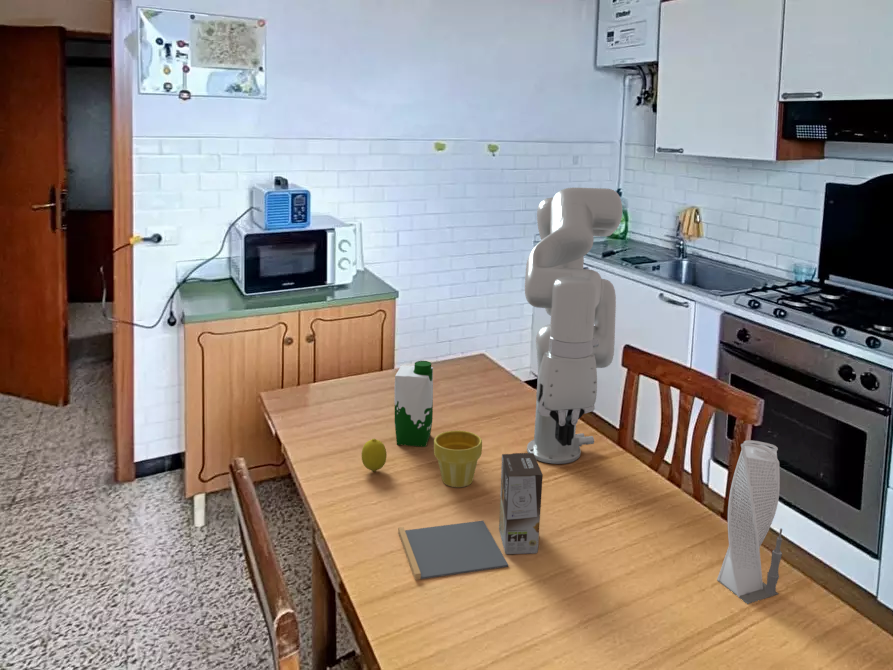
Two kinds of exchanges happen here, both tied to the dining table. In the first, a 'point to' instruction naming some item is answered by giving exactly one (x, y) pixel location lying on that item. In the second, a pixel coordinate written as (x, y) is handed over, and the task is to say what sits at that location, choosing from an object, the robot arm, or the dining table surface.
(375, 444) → the lemon
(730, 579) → the skyscraper
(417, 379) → the milk carton
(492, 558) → the mat
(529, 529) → the coffee box
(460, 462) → the plant pot
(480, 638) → the dining table surface
